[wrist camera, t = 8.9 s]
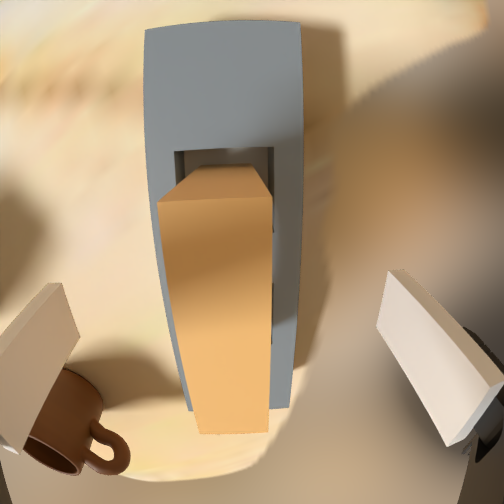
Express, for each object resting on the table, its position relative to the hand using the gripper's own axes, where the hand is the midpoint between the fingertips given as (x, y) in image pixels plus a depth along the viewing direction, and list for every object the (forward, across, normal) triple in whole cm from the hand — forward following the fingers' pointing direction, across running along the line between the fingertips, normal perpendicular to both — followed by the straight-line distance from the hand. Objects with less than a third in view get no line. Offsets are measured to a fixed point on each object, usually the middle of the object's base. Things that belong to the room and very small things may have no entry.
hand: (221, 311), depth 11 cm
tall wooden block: (+9, 0, -1) cm, 9 cm away
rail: (+10, 0, 0) cm, 10 cm away
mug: (+10, -16, -18) cm, 25 cm away
